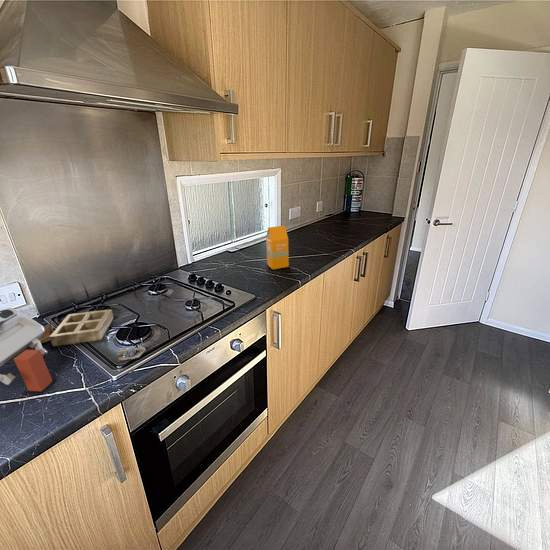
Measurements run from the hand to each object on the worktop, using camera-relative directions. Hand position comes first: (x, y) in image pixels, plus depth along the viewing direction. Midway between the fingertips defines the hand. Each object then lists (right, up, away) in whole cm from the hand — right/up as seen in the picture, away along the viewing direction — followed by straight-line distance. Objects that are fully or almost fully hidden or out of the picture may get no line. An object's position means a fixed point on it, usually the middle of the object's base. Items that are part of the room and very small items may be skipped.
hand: (29, 367), depth 72 cm
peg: (0, -6, +3) cm, 6 cm away
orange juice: (+62, +27, +76) cm, 101 cm away
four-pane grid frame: (-3, +4, +26) cm, 26 cm away
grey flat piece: (+18, -1, +14) cm, 23 cm away
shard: (-16, +2, +23) cm, 28 cm away
